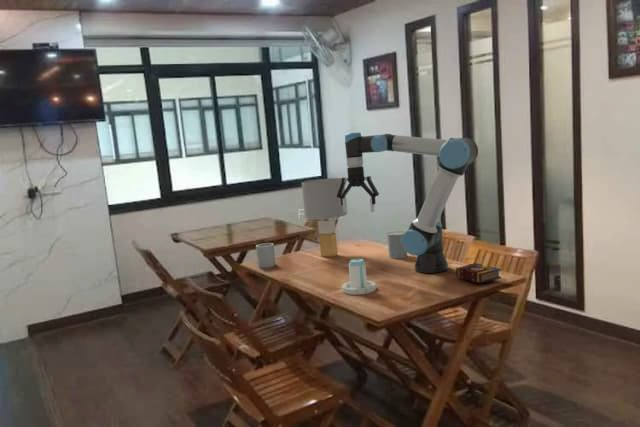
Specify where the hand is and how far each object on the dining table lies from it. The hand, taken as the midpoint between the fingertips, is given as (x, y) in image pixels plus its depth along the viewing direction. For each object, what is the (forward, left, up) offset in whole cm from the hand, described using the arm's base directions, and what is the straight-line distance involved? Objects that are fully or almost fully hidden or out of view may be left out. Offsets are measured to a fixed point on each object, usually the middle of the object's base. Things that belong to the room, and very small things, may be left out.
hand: (358, 212), depth 259 cm
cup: (+56, -4, -29) cm, 63 cm away
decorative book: (-53, +4, -29) cm, 61 cm away
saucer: (-9, +29, -29) cm, 42 cm away
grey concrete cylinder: (-7, -32, -29) cm, 44 cm away
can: (-9, +29, -28) cm, 41 cm away
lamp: (+31, -29, -29) cm, 51 cm away
